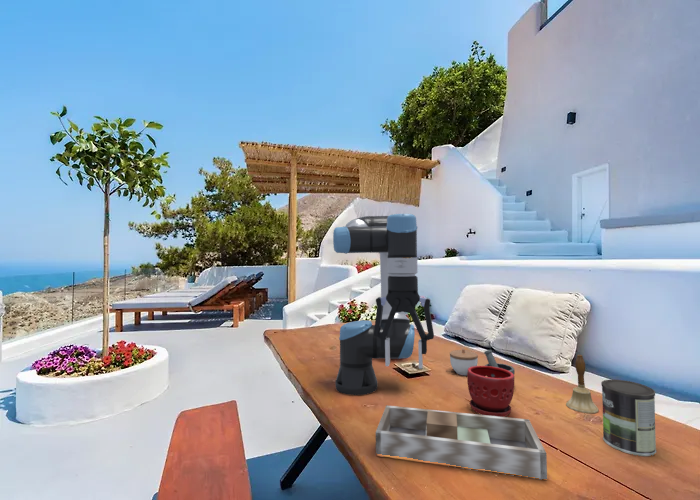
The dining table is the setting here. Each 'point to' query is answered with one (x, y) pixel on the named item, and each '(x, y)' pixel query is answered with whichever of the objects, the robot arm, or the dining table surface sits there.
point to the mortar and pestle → (494, 364)
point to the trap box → (464, 442)
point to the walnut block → (442, 425)
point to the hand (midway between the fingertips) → (404, 365)
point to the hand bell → (581, 391)
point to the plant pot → (490, 390)
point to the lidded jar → (463, 360)
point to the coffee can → (629, 417)
